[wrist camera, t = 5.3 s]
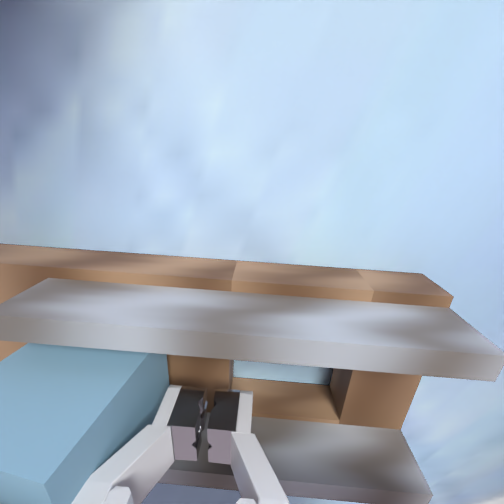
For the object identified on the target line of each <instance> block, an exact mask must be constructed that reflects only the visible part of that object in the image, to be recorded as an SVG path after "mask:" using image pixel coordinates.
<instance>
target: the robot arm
mask: <svg viewBox="0 0 504 504" xmlns="http://www.w3.org/2000/svg"><path fill="white" fill-rule="evenodd" d="M206 398H207V388H199V387H190V386H180V385H170V386H169V387H168V388H167V391H166V393H165V395H164V398H163V400H162V402H161V405H160V407H159V409H158V412H157V414H156V416H155V418H154V421H153V423H152V425H147V426H146V427H145V428H144V429H142V430H141V431H140V432H139V433H138V434H137V435H136V436H134V437H133V438H132V439H131V440H130V441H129V442H128V443H126V444H125V445H124V446H123V447H122V448H121V449H120V450H119V451H117V452H116V453H115V454H114V455H113V456H112V457H111V458H109V459H108V460H107V461H106V462H105V463H104V464H103V465H101V466H100V467H99V468H98V469H97V470H96V471H95V472H94V473H92V474H91V475H90V477H89V478H88V480H87V481H86V482H85V484H84V485H83V487H82V488H81V490H80V491H79V493H78V494H77V496H76V497H75V499H74V500H73V502H72V503H71V504H141V503H142V501H143V500H144V499H145V498H146V496H147V495H148V494H149V493H150V491H151V490H152V489H153V488H154V486H155V485H156V484H157V483H158V481H159V480H160V479H161V477H162V476H163V475H164V474H165V472H166V471H167V470H168V469H169V467H170V466H171V465H172V464H173V462H174V460H191V461H197V459H198V455H199V450H200V446H201V442H202V437H201V432H202V431H203V430H204V429H205V424H206V419H207V412H208V402H207V401H206ZM252 403H253V391H242V390H241V391H240V390H232V389H216V391H215V395H214V408H213V409H212V410H211V413H210V418H209V423H208V427H207V440H208V443H209V447H208V462H213V463H221V464H229V465H231V468H232V471H233V474H234V477H235V480H236V483H237V486H238V489H239V492H240V495H241V498H240V499H239V500H238V501H237V502H236V504H289V500H288V499H287V497H286V495H285V493H284V491H283V489H282V487H281V485H280V483H279V481H278V479H277V477H276V475H275V473H274V471H273V469H272V467H271V465H270V463H269V461H268V459H267V457H266V455H265V453H264V451H263V449H262V447H261V445H260V443H259V441H258V440H257V438H256V436H255V434H253V433H251V420H252Z"/></svg>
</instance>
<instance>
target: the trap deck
mask: <svg viewBox="0 0 504 504" xmlns="http://www.w3.org/2000/svg"><path fill="white" fill-rule="evenodd" d="M452 299H453V296H452V295H451V294H449V293H448V292H447V291H445V290H444V289H442V288H441V287H440V286H438V285H437V284H436V283H434V282H433V281H431V280H430V279H429V278H427V277H426V276H425V275H423V274H418V273H404V272H390V271H376V270H362V269H348V268H334V267H320V266H305V265H291V264H277V263H263V262H249V261H235V260H221V259H207V258H193V257H179V256H165V255H151V254H137V253H123V252H108V251H94V250H80V249H66V248H52V247H38V246H24V245H10V244H0V361H2V360H3V359H5V358H6V357H8V356H9V355H11V354H12V353H14V352H15V351H17V350H18V349H20V348H21V347H23V346H24V345H26V344H27V343H36V344H48V345H60V346H73V347H85V348H97V349H109V350H121V351H133V352H145V353H157V354H167V365H168V375H169V385H180V386H190V387H199V388H207V398H206V401H207V402H208V412H207V419H206V424H205V429H204V430H203V431H202V432H201V437H202V442H201V446H200V450H199V455H198V459H197V461H191V460H174V462H173V464H172V465H171V466H170V467H169V469H168V470H167V471H166V472H165V474H164V475H163V476H162V477H161V479H160V480H159V481H158V483H165V484H175V485H185V486H196V487H206V488H216V489H226V490H236V491H239V489H238V486H237V483H236V480H235V477H234V474H233V471H232V468H231V465H229V464H221V463H213V462H208V447H209V443H208V440H207V427H208V423H209V418H210V413H211V410H212V409H213V408H214V395H215V391H216V389H232V390H240V391H241V390H242V391H253V403H252V420H251V433H253V434H255V436H256V438H257V440H258V441H259V443H260V445H261V447H262V449H263V451H264V453H265V455H266V457H267V459H268V461H269V463H270V465H271V467H272V469H273V471H274V473H275V475H276V477H277V479H278V481H279V483H280V485H281V487H282V489H283V491H284V493H285V495H287V496H297V497H307V498H317V499H327V500H337V501H348V502H358V503H368V504H428V503H429V501H430V500H431V498H432V496H433V494H432V492H431V490H430V488H429V486H428V484H427V482H426V480H425V478H424V476H423V474H422V472H421V470H420V468H419V466H418V464H417V462H416V460H415V458H414V456H413V454H412V452H411V450H410V448H409V446H408V444H407V442H406V440H405V438H404V436H403V434H402V432H401V427H402V425H403V422H404V420H405V417H406V415H407V412H408V410H409V407H410V405H411V402H412V400H413V397H414V395H415V392H416V390H417V387H418V385H419V382H420V380H421V377H422V376H434V377H446V378H458V379H470V380H482V381H494V382H495V381H496V379H497V377H498V375H499V373H500V372H501V370H502V368H503V366H504V352H503V351H502V350H501V349H499V348H498V347H497V346H496V345H495V344H493V343H492V342H491V341H490V340H488V339H487V338H486V337H485V336H483V335H482V334H481V333H480V332H478V331H477V330H476V329H475V328H473V327H472V326H471V325H470V324H469V323H467V322H466V321H465V320H464V319H462V318H461V317H460V316H459V315H457V314H456V313H455V312H454V311H452V310H451V309H450V308H449V307H450V304H451V302H452ZM234 360H241V361H253V362H265V363H277V364H289V365H301V366H313V367H326V368H334V369H333V373H332V377H331V382H330V385H319V384H307V383H295V382H283V381H272V380H260V379H248V378H236V377H233V364H234Z"/></svg>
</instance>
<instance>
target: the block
mask: <svg viewBox="0 0 504 504" xmlns="http://www.w3.org/2000/svg"><path fill="white" fill-rule="evenodd" d="M169 386H170V385H169V375H168V365H167V354H157V353H145V352H133V351H121V350H109V349H97V348H85V347H73V346H60V345H48V344H36V343H27V344H26V345H24V346H23V347H21V348H20V349H18V350H17V351H15V352H14V353H12V354H11V355H9V356H8V357H6V358H5V359H3V360H2V361H0V504H71V503H72V502H73V500H74V499H75V497H76V496H77V494H78V493H79V491H80V490H81V488H82V487H83V485H84V484H85V482H86V481H87V480H88V478H89V477H90V475H91V474H92V473H94V472H95V471H96V470H97V469H98V468H99V467H100V466H101V465H103V464H104V463H105V462H106V461H107V460H108V459H109V458H111V457H112V456H113V455H114V454H115V453H116V452H117V451H119V450H120V449H121V448H122V447H123V446H124V445H125V444H126V443H128V442H129V441H130V440H131V439H132V438H133V437H134V436H136V435H137V434H138V433H139V432H140V431H141V430H142V429H144V428H145V427H146V426H147V425H152V423H153V421H154V418H155V416H156V414H157V412H158V409H159V407H160V405H161V402H162V400H163V398H164V395H165V393H166V391H167V388H168V387H169Z"/></svg>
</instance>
